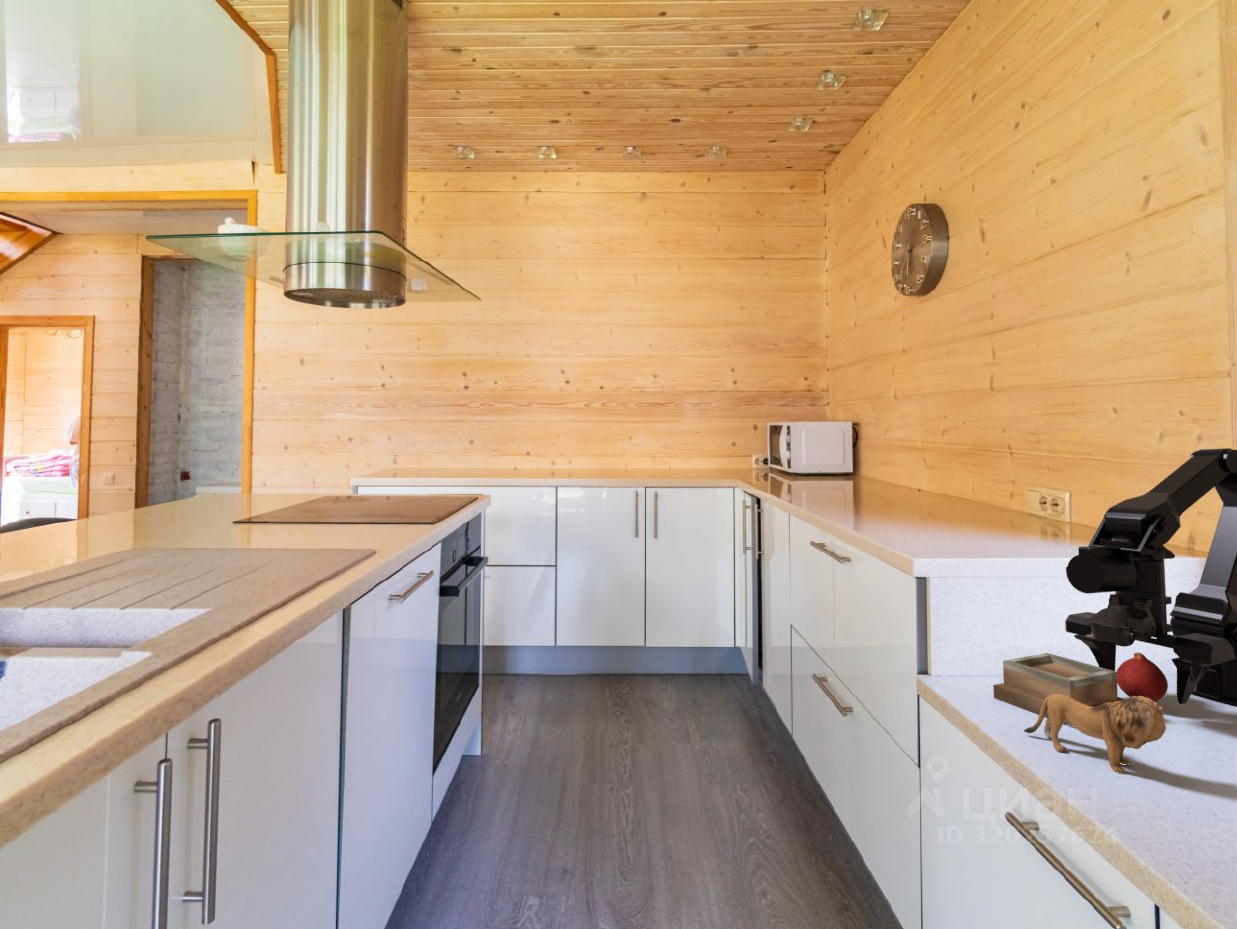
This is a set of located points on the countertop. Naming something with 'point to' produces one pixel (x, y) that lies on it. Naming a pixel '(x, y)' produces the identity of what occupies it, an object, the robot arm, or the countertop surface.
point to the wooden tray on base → (1054, 682)
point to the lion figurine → (1105, 723)
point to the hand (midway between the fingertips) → (1144, 692)
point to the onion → (1141, 678)
